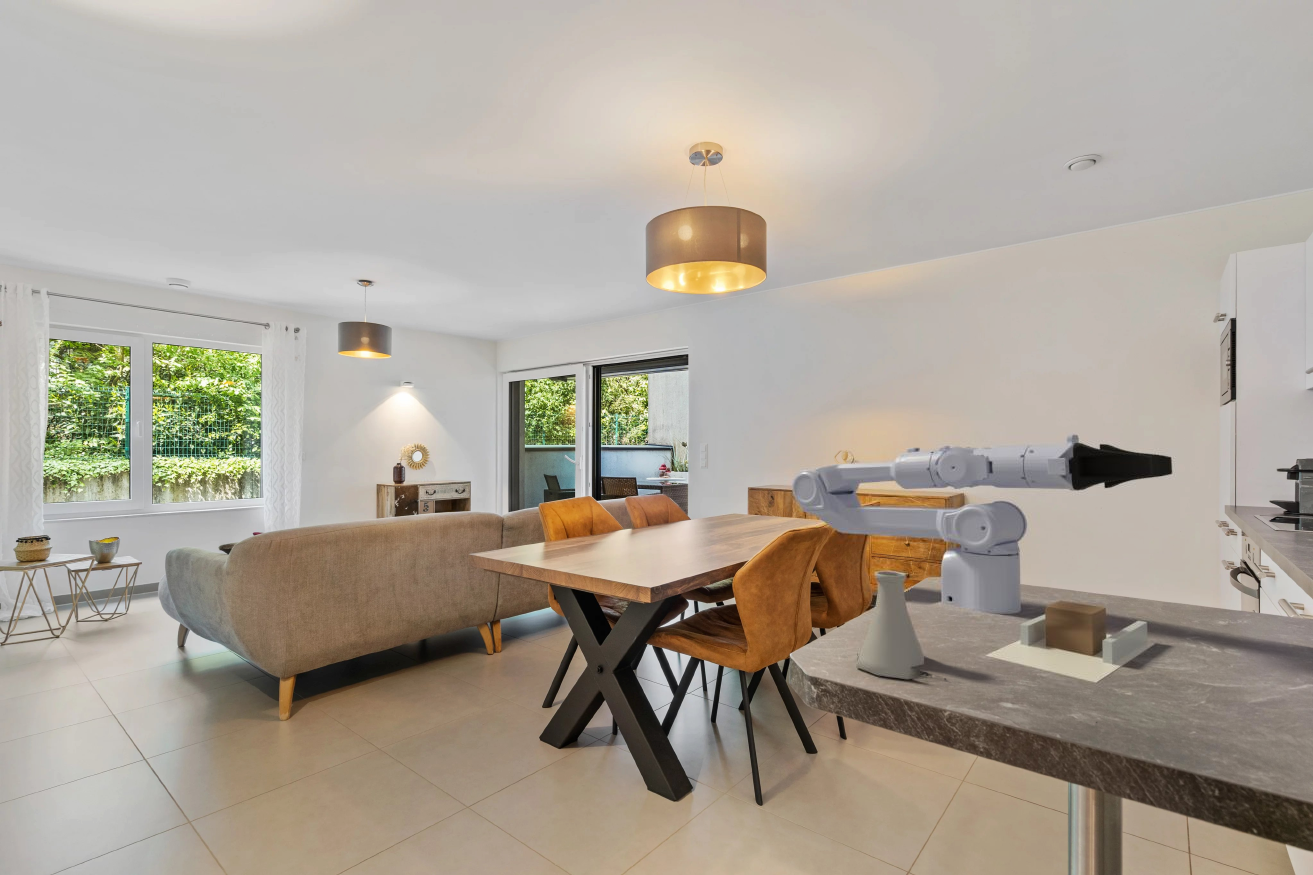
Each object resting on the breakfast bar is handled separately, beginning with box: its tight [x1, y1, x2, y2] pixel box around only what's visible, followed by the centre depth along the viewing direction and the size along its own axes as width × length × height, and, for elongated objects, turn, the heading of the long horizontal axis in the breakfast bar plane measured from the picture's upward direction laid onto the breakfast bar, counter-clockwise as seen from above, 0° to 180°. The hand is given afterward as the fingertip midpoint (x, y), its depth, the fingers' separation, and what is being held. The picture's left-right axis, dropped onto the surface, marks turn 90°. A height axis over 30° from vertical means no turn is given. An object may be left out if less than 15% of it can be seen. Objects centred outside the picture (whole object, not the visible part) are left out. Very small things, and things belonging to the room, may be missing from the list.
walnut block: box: [1044, 600, 1107, 657], centre depth 69 cm, size 4×4×4 cm
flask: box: [855, 570, 928, 680], centre depth 66 cm, size 7×7×10 cm
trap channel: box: [985, 613, 1156, 684], centre depth 68 cm, size 10×19×3 cm, turn 128°
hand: (1161, 465), depth 72 cm, fingers open, 7 cm apart
